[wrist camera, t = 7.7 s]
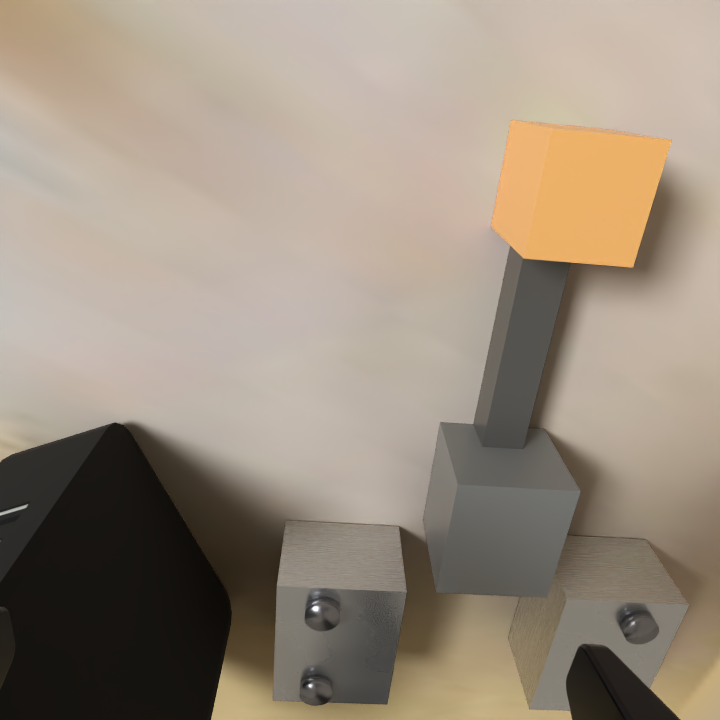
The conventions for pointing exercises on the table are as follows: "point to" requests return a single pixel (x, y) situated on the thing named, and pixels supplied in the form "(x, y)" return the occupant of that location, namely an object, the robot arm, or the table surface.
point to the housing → (387, 599)
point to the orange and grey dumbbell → (532, 355)
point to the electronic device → (104, 588)
